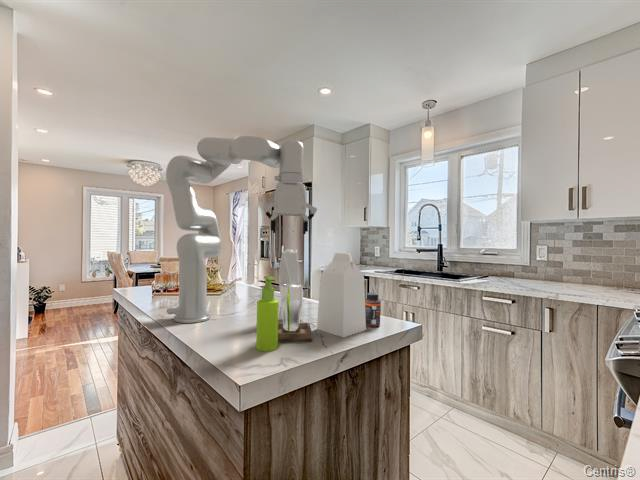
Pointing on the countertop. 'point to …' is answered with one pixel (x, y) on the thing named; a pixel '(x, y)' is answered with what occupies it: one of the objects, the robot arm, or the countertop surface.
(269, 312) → the soap dispenser
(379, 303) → the supplement bottle
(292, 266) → the skyscraper
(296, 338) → the walnut tray
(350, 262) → the milk
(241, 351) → the countertop surface
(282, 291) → the beer glass
